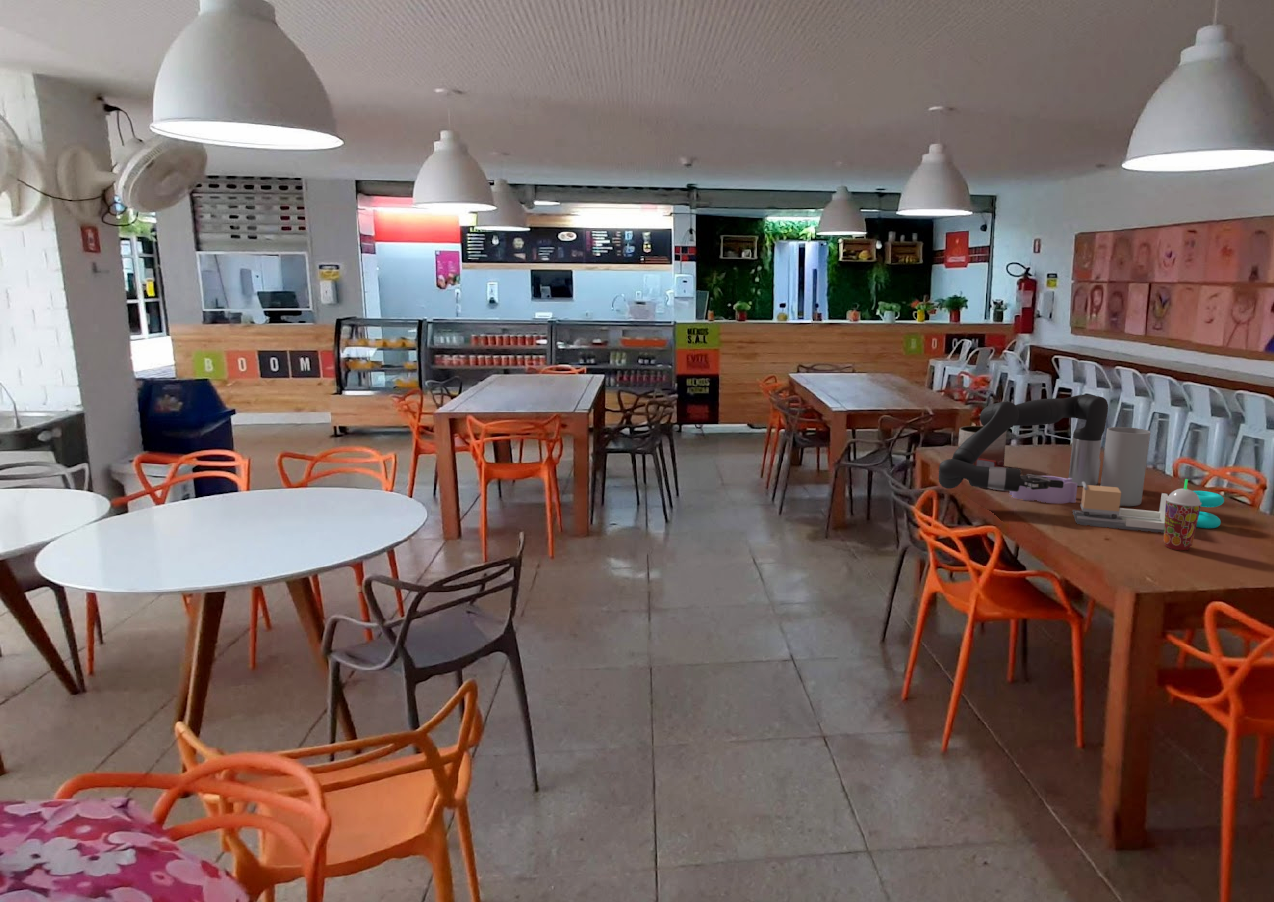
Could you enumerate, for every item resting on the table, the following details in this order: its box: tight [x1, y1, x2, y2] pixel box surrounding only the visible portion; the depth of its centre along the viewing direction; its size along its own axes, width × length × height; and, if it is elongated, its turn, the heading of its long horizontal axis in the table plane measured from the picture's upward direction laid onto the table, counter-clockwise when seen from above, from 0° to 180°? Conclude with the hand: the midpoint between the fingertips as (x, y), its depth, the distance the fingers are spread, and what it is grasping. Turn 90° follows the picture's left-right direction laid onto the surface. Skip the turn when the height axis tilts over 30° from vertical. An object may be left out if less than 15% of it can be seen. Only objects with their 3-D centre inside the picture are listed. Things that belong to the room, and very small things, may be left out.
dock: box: [1072, 492, 1169, 534], centre depth 250 cm, size 14×25×9 cm, turn 67°
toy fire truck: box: [976, 458, 1008, 491], centre depth 294 cm, size 7×12×10 cm, turn 46°
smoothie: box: [1163, 478, 1202, 551], centre depth 226 cm, size 8×8×20 cm
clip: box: [1009, 475, 1078, 505], centre depth 280 cm, size 20×12×7 cm, turn 76°
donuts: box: [1192, 490, 1225, 529], centre depth 248 cm, size 10×10×10 cm
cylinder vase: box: [1099, 426, 1151, 507], centre depth 272 cm, size 12×12×25 cm
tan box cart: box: [1079, 481, 1121, 519], centre depth 252 cm, size 8×10×10 cm
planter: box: [957, 425, 1007, 466], centre depth 325 cm, size 18×18×16 cm
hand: (1063, 484), depth 255 cm, fingers closed
